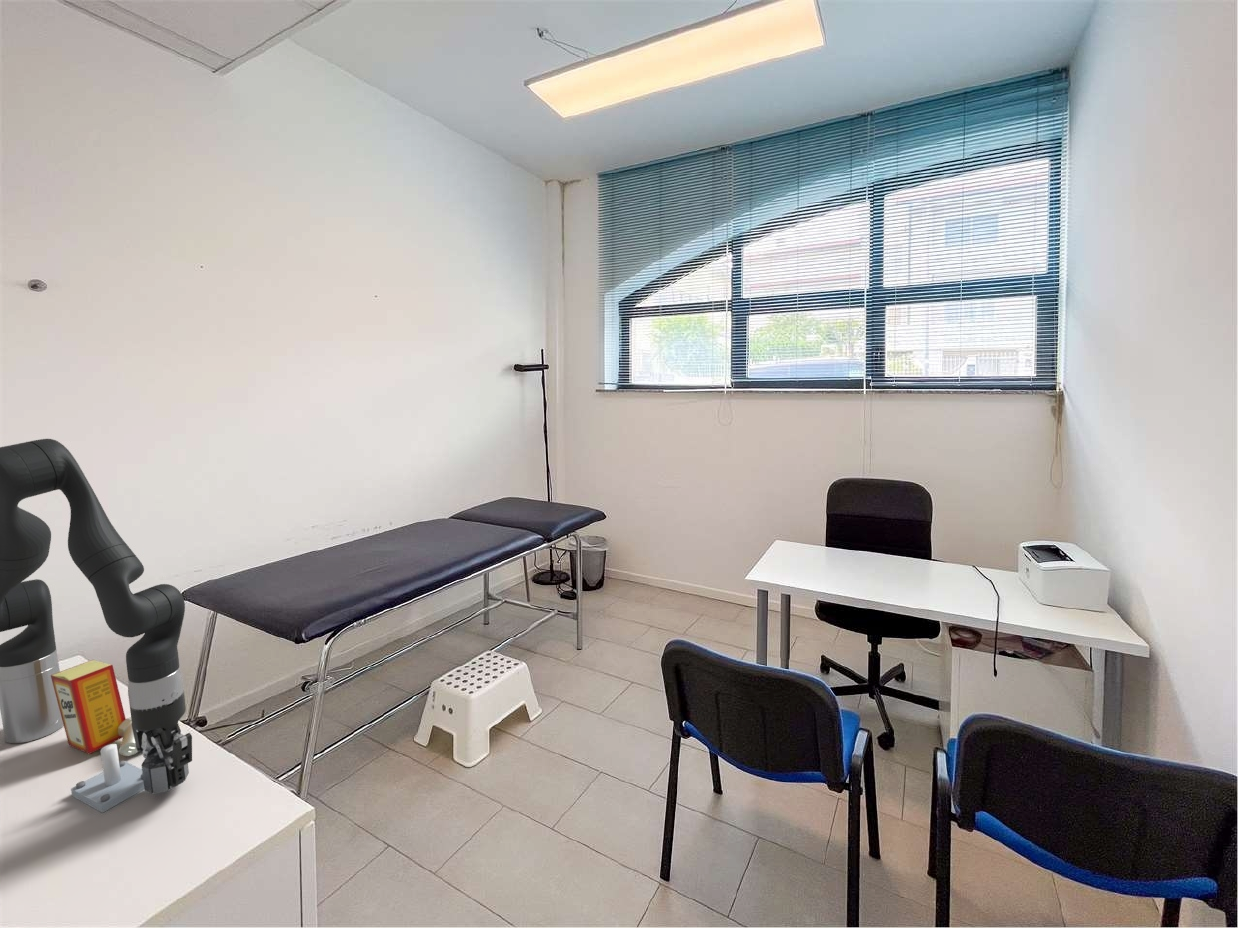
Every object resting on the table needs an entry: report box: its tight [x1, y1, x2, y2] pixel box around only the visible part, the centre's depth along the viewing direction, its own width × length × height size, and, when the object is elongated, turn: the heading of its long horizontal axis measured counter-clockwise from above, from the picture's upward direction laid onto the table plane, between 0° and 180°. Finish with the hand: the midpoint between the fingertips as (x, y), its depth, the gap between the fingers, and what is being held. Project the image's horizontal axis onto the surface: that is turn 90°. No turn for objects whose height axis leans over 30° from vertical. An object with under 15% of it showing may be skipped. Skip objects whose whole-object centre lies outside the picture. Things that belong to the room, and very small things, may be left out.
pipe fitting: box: [118, 716, 143, 757], centre depth 111 cm, size 8×4×7 cm
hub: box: [141, 747, 190, 795], centre depth 100 cm, size 6×6×5 cm
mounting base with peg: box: [70, 743, 144, 814], centre depth 100 cm, size 10×8×8 cm
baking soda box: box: [51, 659, 127, 755], centre depth 112 cm, size 10×6×16 cm
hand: (166, 777), depth 100 cm, fingers closed on hub, 6 cm apart
